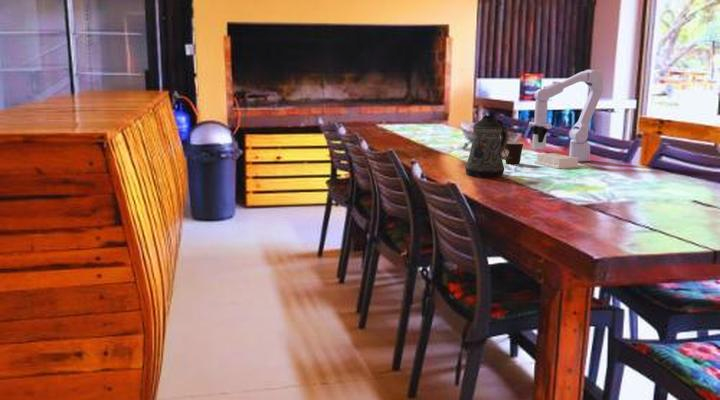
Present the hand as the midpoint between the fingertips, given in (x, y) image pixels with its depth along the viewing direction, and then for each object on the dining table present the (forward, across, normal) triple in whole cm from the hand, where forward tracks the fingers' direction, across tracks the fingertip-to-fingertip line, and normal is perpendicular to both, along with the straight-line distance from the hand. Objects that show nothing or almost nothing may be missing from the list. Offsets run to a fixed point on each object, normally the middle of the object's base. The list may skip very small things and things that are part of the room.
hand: (539, 142), depth 327 cm
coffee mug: (+9, +2, -17) cm, 20 cm away
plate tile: (+3, 0, 0) cm, 3 cm away
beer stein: (+9, +22, -46) cm, 52 cm away
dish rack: (+9, +15, -1) cm, 18 cm away
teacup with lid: (+9, -17, -12) cm, 23 cm away
